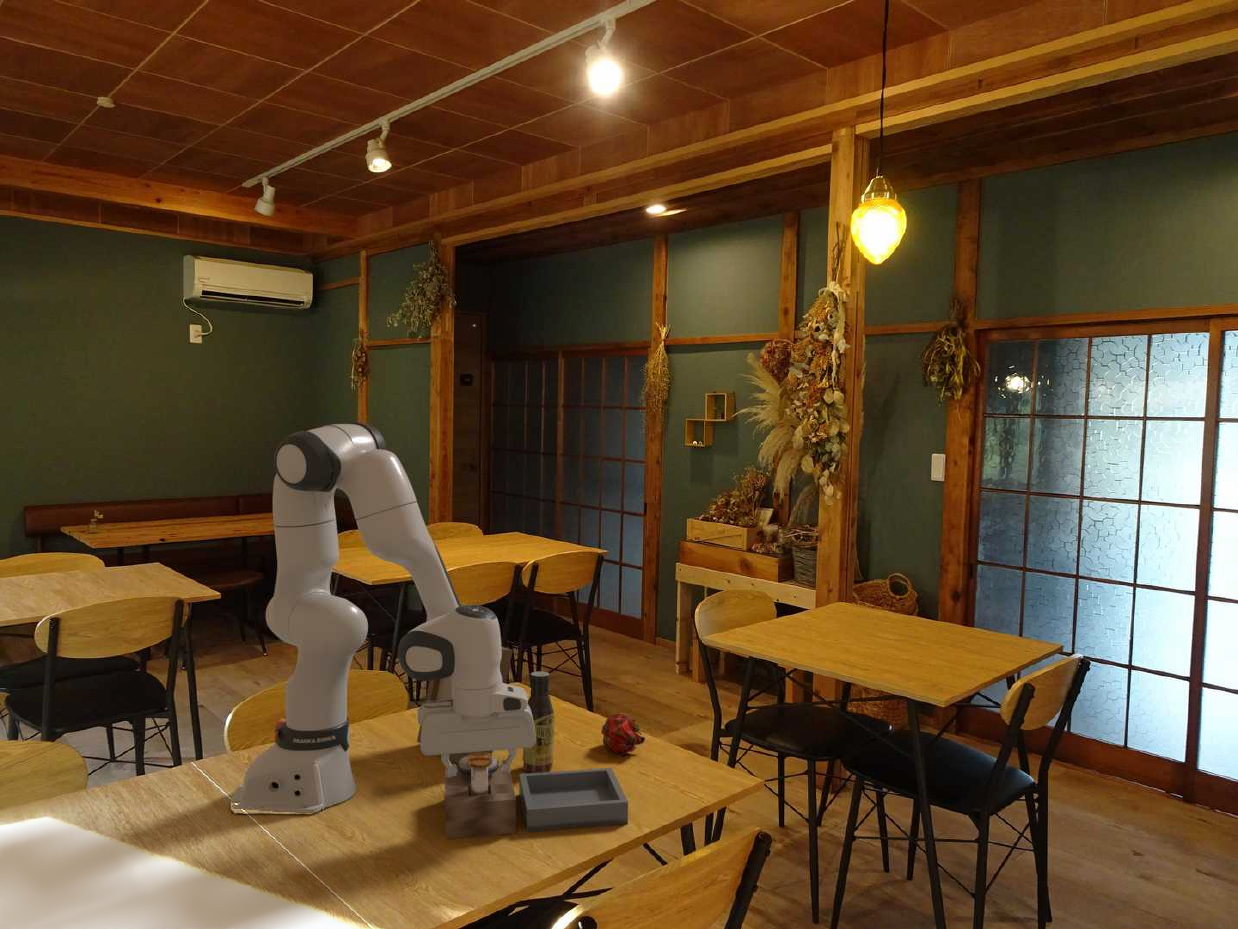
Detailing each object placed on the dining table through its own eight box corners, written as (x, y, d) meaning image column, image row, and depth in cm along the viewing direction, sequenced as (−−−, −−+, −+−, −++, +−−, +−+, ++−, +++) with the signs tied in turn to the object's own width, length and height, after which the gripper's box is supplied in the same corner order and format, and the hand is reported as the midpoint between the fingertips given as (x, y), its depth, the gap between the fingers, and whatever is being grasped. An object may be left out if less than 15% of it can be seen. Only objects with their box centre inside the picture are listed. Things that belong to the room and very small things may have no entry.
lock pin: (467, 829, 159) (467, 761, 158) (466, 819, 163) (466, 752, 163) (492, 827, 160) (492, 760, 159) (491, 817, 164) (491, 751, 164)
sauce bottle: (539, 777, 182) (539, 680, 181) (516, 770, 186) (516, 674, 185) (560, 767, 187) (560, 673, 186) (537, 760, 191) (538, 667, 190)
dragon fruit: (613, 746, 204) (633, 773, 193) (585, 729, 201) (604, 756, 190) (636, 715, 205) (657, 741, 194) (608, 698, 201) (628, 723, 190)
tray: (527, 832, 158) (527, 809, 158) (519, 794, 174) (519, 774, 174) (627, 824, 162) (628, 802, 162) (611, 787, 178) (611, 767, 177)
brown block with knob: (445, 839, 156) (445, 790, 155) (445, 800, 171) (445, 755, 171) (515, 833, 158) (515, 785, 157) (508, 795, 174) (508, 751, 173)
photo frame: (471, 775, 183) (472, 653, 182) (416, 746, 199) (417, 633, 198) (530, 758, 193) (531, 642, 192) (473, 731, 209) (475, 624, 208)
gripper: (416, 708, 155) (418, 786, 156) (536, 700, 158) (537, 776, 159) (418, 696, 161) (420, 771, 162) (533, 688, 164) (534, 762, 165)
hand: (479, 774), depth 161 cm, fingers open, 8 cm apart
